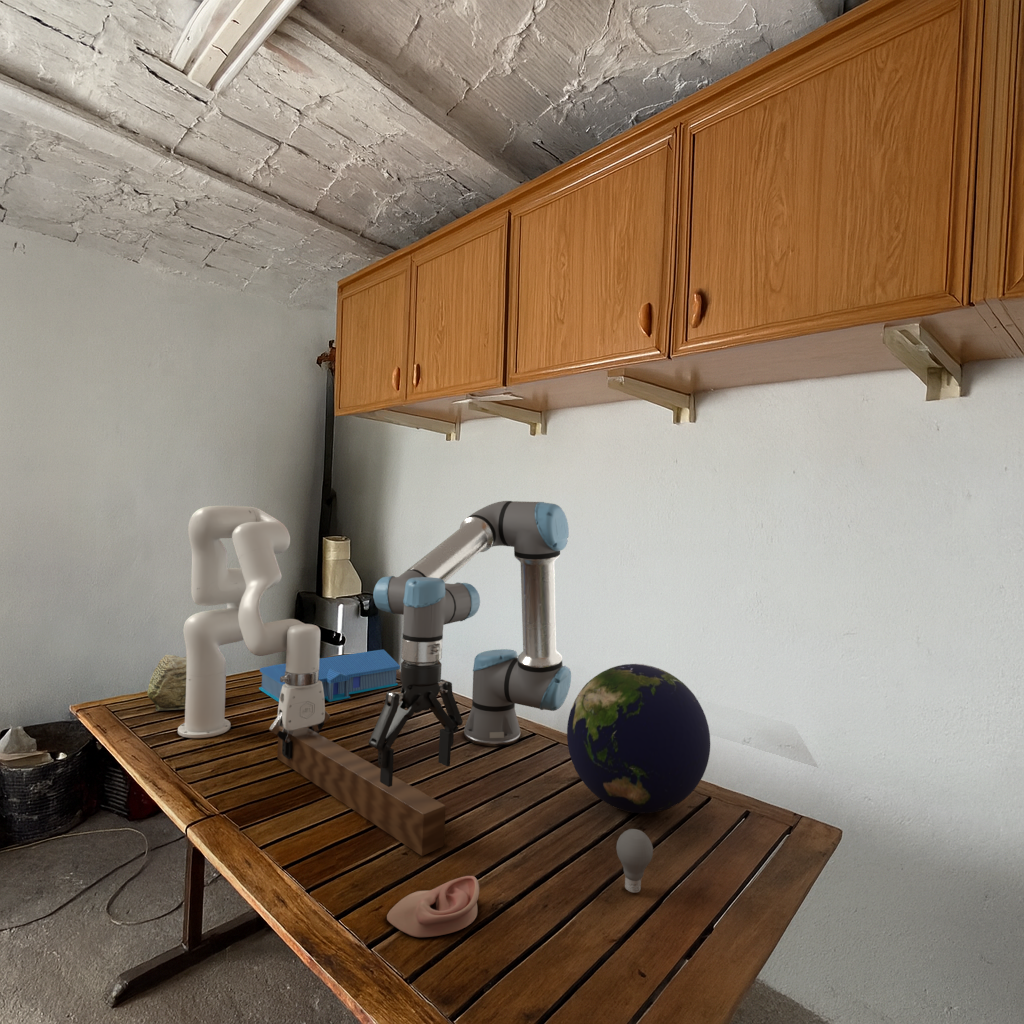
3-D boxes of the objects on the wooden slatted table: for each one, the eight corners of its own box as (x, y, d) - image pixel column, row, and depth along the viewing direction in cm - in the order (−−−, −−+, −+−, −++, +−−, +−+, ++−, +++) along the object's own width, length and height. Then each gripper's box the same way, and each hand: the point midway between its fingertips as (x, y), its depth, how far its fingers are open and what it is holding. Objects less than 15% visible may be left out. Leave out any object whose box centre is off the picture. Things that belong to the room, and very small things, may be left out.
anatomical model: (379, 903, 93) (407, 860, 104) (378, 930, 93) (406, 884, 105) (466, 919, 91) (485, 873, 102) (464, 947, 91) (484, 898, 102)
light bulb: (610, 879, 108) (613, 822, 108) (644, 879, 109) (647, 822, 109) (619, 902, 102) (622, 840, 102) (655, 901, 103) (658, 840, 103)
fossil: (144, 707, 182) (145, 655, 182) (212, 696, 194) (213, 647, 194) (151, 716, 175) (153, 662, 175) (221, 703, 188) (223, 653, 188)
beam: (277, 758, 152) (278, 727, 152) (297, 753, 156) (298, 722, 155) (421, 856, 113) (423, 814, 113) (443, 846, 117) (445, 805, 117)
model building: (289, 709, 186) (291, 675, 185) (258, 688, 204) (259, 657, 204) (403, 687, 212) (405, 657, 212) (366, 670, 230) (368, 643, 230)
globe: (544, 820, 127) (551, 672, 127) (585, 765, 155) (590, 643, 155) (698, 858, 116) (706, 696, 116) (712, 791, 144) (719, 660, 143)
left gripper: (274, 688, 141) (271, 769, 141) (342, 675, 153) (339, 749, 153) (259, 680, 146) (256, 758, 146) (326, 668, 158) (323, 740, 158)
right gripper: (376, 676, 107) (371, 800, 107) (483, 655, 125) (478, 762, 125) (352, 666, 112) (347, 785, 112) (458, 648, 130) (453, 751, 130)
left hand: (299, 753), depth 150 cm, fingers closed on beam, 5 cm apart
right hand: (416, 773), depth 119 cm, fingers open, 13 cm apart
